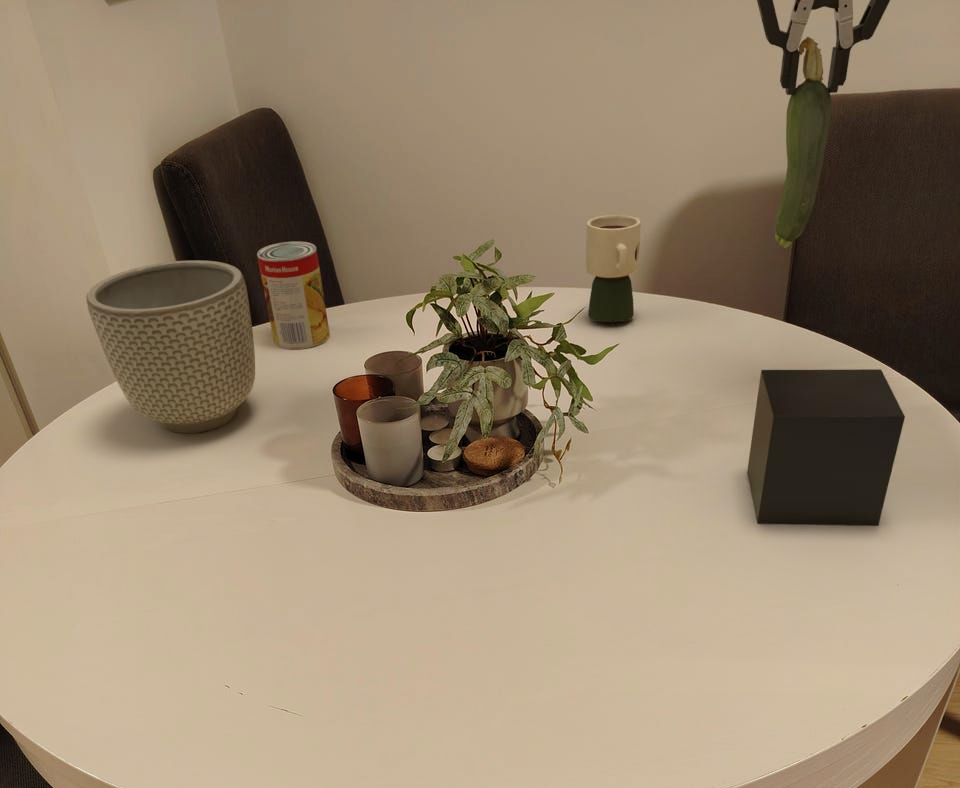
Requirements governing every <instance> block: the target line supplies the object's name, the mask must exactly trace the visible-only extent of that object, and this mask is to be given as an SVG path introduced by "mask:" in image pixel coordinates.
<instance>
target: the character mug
mask: <svg viewBox="0 0 960 788" xmlns="http://www.w3.org/2000/svg"><path fill="white" fill-rule="evenodd" d="M641 224H642V222H641V218H639V217H636V216H633V215H629V214H628V215H627V214H604V215H600V216H595V217H592V218H590V219H589V220H588V221H586V241H585V242H586V243H585V244H586V247H585V248H586V249H585V250H586V251H585V253H586V254H585V256H586V257H585V262H586V263H585V265H586V272H587V273H588V274H589V275H591V276H593V277H594V278H593V280H592V284H591V290H590V296H589V303H588V313H587V316H588V318H589V320H592V321H594V322H604V323H605V322H606V323H609V322H610V323H611V324H615V323H616V322H628V321H629V320H632V319H633V318H634V316H635V309H634V296H633V295H634V294H633V285H632V280H631V277H630V275H631V274H634V273H635V272H636V271H637V270H638V269H639V266H640V244H641V227H642V225H641Z"/></svg>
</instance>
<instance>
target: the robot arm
mask: <svg viewBox="0 0 960 788" xmlns="http://www.w3.org/2000/svg"><path fill="white" fill-rule="evenodd" d="M890 1H891V0H869V2H868V4H867V6H866V8H865V10H864V12H863V15H862V17H861V19H860V20H859V23H858V24H857V25H853V23H854V22H853V21H854V6H853V4H854V2H853V0H794V3H793V7H792V9H791V13H790V17H789V22H788V25H787V29H786V31H784V30H782V29H780V25H779V21H778V16H777V12H776V8H775V3H774V0H756V3H757V6H758V10H759V11H758V12H759V15H760V18H761V22H762V28H763V31H764V35H765V40H767V42H768V44H770V45H771V46H775V47H778V48H780V49H781V50H782V60H781V69H780V78H779V83H780V87H781V88H782V89H783V90H784V89H785V94H786V95H787V96H791V95H795V90H796V88H797V81H798V74H799V72H798V71H799V64H800V57H801V55H800V52H799V46H800V44H801V42H802V39H803V38H802V37H803V34H804V31H805V28H806V26H807V23H808V21H809V18H810V15H811V12H812V11H815V10H819V9H821V8H829V9H833V16H834V24H835V46H833V47H832V50H831V58H830V65H829V70H828V71H829V73H828V79H827V85H826V87H827V88H828V90H829V93H830V94H836V93H838V92H839V87H840V86H841V87H842V86H844V84H845V82H846V81H847V75H848V68H849V62H850V56H851V55H850V54H851V51H852V48H853V47H854V46H855V45H856V44H858V43H860V42H862V41H868V40H870V39H871V38H872V37H873V36H874V34H875V32H876V30H877V28H878V26H879V24H880V22H881V20H882V18H883V16H884V14H885V12H886V10H887V8H888V6H889V4H890Z"/></svg>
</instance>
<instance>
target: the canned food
mask: <svg viewBox="0 0 960 788" xmlns="http://www.w3.org/2000/svg"><path fill="white" fill-rule="evenodd" d="M256 258H257V263H258V267H259V274H260V277H261V283H262V288H263V292H264V298H265V303H266V308H267V313H268V318H269V319H268V320H269V324H270V328H271V333H272V339H273V343H274V345H276V346H277V347H278V348H281V349H286V350H304V349H309V348H315V347H317V346H320V345H322V344H325V343H326V342H327V341H329V339H330V337H331V332H330V327H329V321H328V313H327V308H326V307H327V306H326V301H325V295H324V294H325V293H324V288H323V283H322V276H321V268H320V263H319V262H320V261H319V257H318V250H317V246H316V245H315V244H313V243H311V242H307V241H298V240H297V241H283V242H278V243H273V244H270V245H267V246H264V247H262V248H260V249H259V250H258V251H257V253H256Z"/></svg>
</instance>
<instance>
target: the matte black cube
mask: <svg viewBox="0 0 960 788" xmlns="http://www.w3.org/2000/svg"><path fill="white" fill-rule="evenodd" d="M755 405H756V406H755V412H754V420H753V426H752V434H751V442H750V448H749V455H748V464H747V470H746V471H747V472H746V473H747V478H748V483H749V488H750V492H751V497H752V498H751V499H752V502H753V508H754V513H755V517H756V523H757V524H770V525H771V524H777V525H787V524H788V525H833V526H835V525H837V526H838V525H839V526H846V525H847V526H879V524H880V520H881V517H882V513H883V508H884V504H885V501H886V496H887V492H888V488H889V484H890V479H891V476H892V470H893V467H894V463H895V459H896V456H897V452H898V447H899V443H900V439H901V434H902V432H903V427H904V423H905V418H906V416H905V413H904V411H903V410H902V407H901V406H900V403H899V402H898V400H897V398H896V396H895V394H894V392H893V390H892V388H891V386H890V384H889V382H888V380H887V378H886V376H885V374H884V372H883V371H882V369H880V368H879V369H877V368H876V369H873V368H872V369H866V368H865V369H861V368H860V369H856V368H855V369H761V370H760V377H759V382H758V391H757V397H756V404H755Z"/></svg>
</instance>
